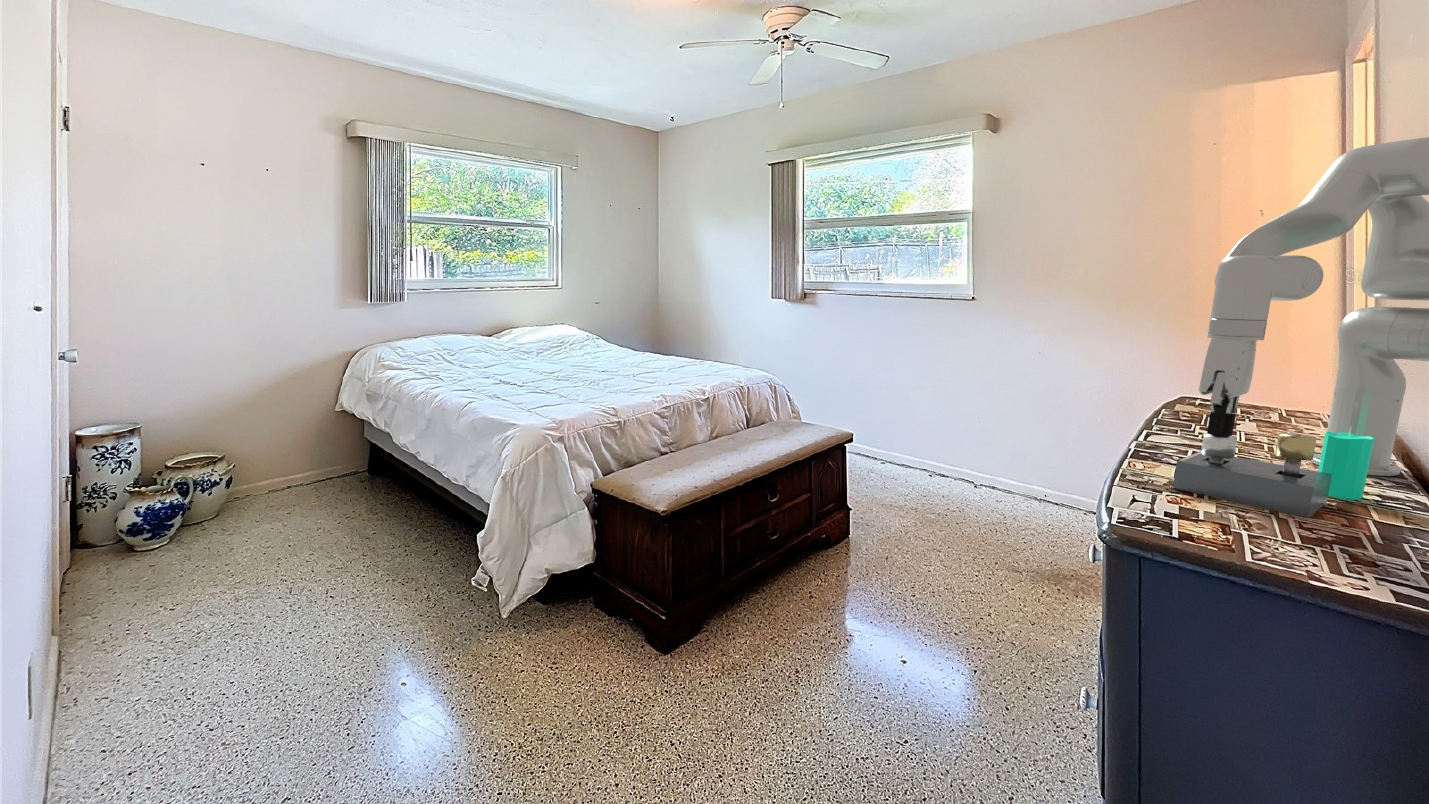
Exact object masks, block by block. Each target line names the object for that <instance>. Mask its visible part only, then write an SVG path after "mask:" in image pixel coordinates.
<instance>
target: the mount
mask: <svg viewBox="0 0 1429 804" xmlns="http://www.w3.org/2000/svg"><path fill="white" fill-rule="evenodd" d="M1209 458H1210V456H1206V455H1203V454H1201V450H1200V451H1197V452H1195V453H1192V454H1191V455H1188V456H1186V457H1183V458H1180V459H1179V460H1176V463H1175V464H1176V465H1175V473H1174V478H1173V485H1172V486H1173V487H1172V489H1175V488H1176V489H1175V490H1179V489H1180V490H1179V491H1184V490H1185V492H1188V491H1190V492H1189V493H1193V492H1194V494H1196V495H1197V494H1198V495H1202V494H1204V495H1203V496H1206V495H1207V497H1211V498H1216V499H1220V500H1225V501H1229V502H1234V503H1239V504H1243V505H1247V506H1252V507H1256V508H1262V509H1265V510H1270V511H1274V512H1279V513H1282V514H1287V515H1292V516H1296V517H1302V518H1304V519H1305V518H1306V519H1309V518H1310V517H1311V516H1312V515H1314V514H1315V513H1316V512H1318V511H1319V510H1320V509H1321V508H1322V507H1324V506H1325V505H1326V504H1327V503H1328V499H1329V496H1328V494H1329V489H1330V484H1331V478H1332V474H1329V473H1324V472H1318V471H1317V470H1311V469H1305V468H1301V467H1300V471H1299V476H1298V478H1296V477H1290V476H1285V475H1282V472H1283V467H1284V464H1278V463H1277V464H1276V463H1272V462H1267V461H1262V460H1261V461H1260V460H1255V459H1250V458H1249V459H1248V458H1245V457H1244V458H1243V457H1239V456H1234V458H1230V459H1225V458H1224V462H1223V464H1221V463H1215V462H1210V461H1209Z"/></svg>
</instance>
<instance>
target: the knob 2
mask: <svg viewBox="0 0 1429 804" xmlns="http://www.w3.org/2000/svg"><path fill="white" fill-rule="evenodd" d="M1276 441H1277V442H1276V446H1275V452H1274V455H1275V456H1277V457H1280V458H1284V462H1283V465H1284V467H1283V472H1282V475H1285V476H1290V477H1296V478H1298V476H1299V471H1300V468H1301V466H1302V465H1301V464H1302V461H1311V460H1313V456H1314V455H1315V449H1316V444H1317V437H1316V436H1313V435H1309V434H1303V433H1298V432H1297V433H1295V432H1279V433H1278V436H1277V440H1276Z"/></svg>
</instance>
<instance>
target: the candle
mask: <svg viewBox="0 0 1429 804" xmlns="http://www.w3.org/2000/svg"><path fill="white" fill-rule="evenodd" d="M1351 428H1352V427H1350V432H1349V433H1333V432H1327V431H1326V432H1325V433H1324V437H1323V442H1322V447H1321V448H1322V449H1321V452H1320V454H1321V458H1320V463H1319V465H1318V472H1324V473H1329V474H1332V478H1331V484H1330V489H1329V494H1328V497H1331V498H1336V499H1341V500H1351V501H1354V500H1355V501H1357V500H1359V501H1360V500H1361V498H1362V499H1363V497H1364V492H1365V487H1366V482H1367V477H1368V475H1367V473H1368V468H1369V463H1370V458H1371V453H1372V448H1373V443H1374V438H1373V437H1370V436H1357V435H1354V434H1351Z"/></svg>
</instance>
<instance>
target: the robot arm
mask: <svg viewBox="0 0 1429 804" xmlns="http://www.w3.org/2000/svg"><path fill="white" fill-rule="evenodd" d="M1423 196H1429V137H1427V136H1426V137H1418V138H1417V137H1416V138H1410V139H1404V140H1398V141H1390V142H1384V143H1378V144H1371V145H1364V146H1361V147H1357V148H1353V149H1351V150H1348V151H1347V152H1344V153H1343V154H1342V155H1340V156H1339V157H1338V158H1337V159H1336V160H1334V161H1333V163H1332V164H1331V165H1330V167H1329V168H1328V169H1327V170H1326V171H1325V173H1324V174H1323V175H1322V176H1321V178H1320V179H1319V180H1318V181H1317V182H1316V184H1315V185H1314V186H1313V187H1312V189H1311V190H1310V191H1309V193H1308V194H1307V195H1306V196H1305V197H1304V198H1303V200H1302V201H1301V202H1300V203H1299V205H1298V206H1296V207H1295V208H1293V209H1290V210H1289V211H1286V212H1284V213H1282V214H1281V215H1279V216H1277V217H1275V218H1273V219H1272V220H1270V221H1268V222H1266V223H1265V224H1262V225H1260V226H1259V227H1257V228H1255V229H1253V230H1252V231H1250V232H1249V233H1248V234H1247V235H1245V236H1244V237H1242V238H1241V239H1240V240H1239V241H1238V242H1237V243H1236V244H1235V245H1234V247H1233V248H1232V249H1231V250H1230V251H1229V253H1227V255H1226V256H1225V257H1224V258H1223V259H1221V261H1220V262H1219V263H1218V268H1217V272H1216V273H1215V276H1214V277H1215V279H1214V287H1215V288H1214V293H1213V300H1212V305H1211V306H1212V307H1211V313H1210V319H1209V326H1208V331H1207V338H1210V341H1209V344H1208V347H1207V351H1206V355H1205V358H1204V362H1203V363H1204V364H1203V368H1202V373H1201V377H1200V378H1201V379H1200V381H1199V388H1198V392H1199V394H1201V395H1203V396H1205V395H1206V396H1207V395H1210V394H1211V398H1210V411H1209V419H1208V423H1207V431H1206V433H1208V434H1210V435H1216V436H1222V437H1229V436H1233V433H1234V428H1235V423H1236V422H1235V421H1236V418H1237V416H1236V415H1237V414H1236V413H1237V409H1238V406H1239V405H1238V404H1239V401H1240V397H1241V396H1242V395H1245V394H1247V393H1248V392H1249V391H1250V388H1251V383H1252V380H1253V373H1254V369H1255V368H1254V367H1255V360H1256V353H1257V342H1258V341H1264V340H1265V336H1266V331H1267V325H1268V319H1269V313H1270V307H1271V301H1273V302H1274V301H1277V302H1278V301H1279V302H1281V301H1283V302H1286V301H1287V302H1290V301H1298V300H1303V299H1306V298H1308V297H1310V296H1313V294H1314V293H1316V291H1318V290H1319V288H1320V287H1321V285H1322V283H1323V280H1324V269H1323V267H1322V265H1321V264H1320V263H1319V262H1318V261H1317V260H1316V259H1314V258H1312V257H1309V256H1306V255H1285V254H1288V253H1291V252H1293V251H1294V252H1295V251H1297V250H1300V249H1304V248H1308V247H1312V246H1315V245H1319V244H1322V243H1326V242H1328V241H1330V240H1333V239H1337V238H1339V237H1341V236H1344V235H1345V234H1347V233H1348V232H1350V231H1351V230H1352V229H1353V228H1354V227H1355V226H1356V224H1357V223H1359V221H1360V219H1361V218H1362V217H1363V215H1364V214H1365V213H1366V212H1367V211H1368V212H1369V215H1370V219H1371V225H1372V226H1371V234H1370V238H1369V243H1368V247H1367V252H1366V256H1365V260H1364V265H1363V269H1362V270H1363V271H1362V275H1361V282H1360V283H1361V284H1360V285H1361V286H1360V287H1361V290H1362V293H1364V294H1365V296H1367V297H1370V298H1373V299H1378V300H1379V299H1380V300H1390V301H1393V300H1394V301H1399V300H1400V301H1429V201H1428V200H1427V199H1426V198H1425V197H1423ZM1337 335H1338V337H1337V339H1338V352H1339V353H1338V354H1339V355H1338V356H1339V357H1338V358H1339V359H1338V367H1337V368H1338V369H1337V373H1336V374H1337V375H1336V381H1335V387H1334V393H1333V397H1332V402H1331V408H1330V414H1329V418H1328V423H1327V429H1326V432H1333V433H1349V432H1350V427H1352V428H1351V434H1354V435H1357V436H1370V437H1373V438H1374V443H1373V448H1372V453H1371V458H1370V463H1369V468H1368V473H1367V476H1374V477H1375V476H1377V477H1394V476H1398V475H1400V474H1401V467H1400V466H1398V465H1396V464H1393V463H1391V459H1392V455H1393V449H1394V446H1395V441H1396V435H1397V430H1398V427H1399V421H1400V416H1401V412H1402V411H1401V410H1402V407H1403V402H1404V397H1405V394H1406V388H1407V379H1406V376H1405V374H1404V372H1403V370H1402V369H1401V368H1400V366H1399V365H1398V363H1397V362H1396V360H1407V361H1416V362H1417V361H1419V362H1429V307H1428V308H1427V307H1409V306H1408V307H1407V306H1405V307H1404V306H1403V307H1402V306H1370V307H1362V308H1359V309H1355V310H1353V311H1351V312H1349V313H1348V314H1346V315H1345V316H1344V317H1343V319H1342V320H1341V322H1340V323H1339V326H1338V334H1337ZM1320 458H1321V453H1314V456H1313V460H1310V462H1311V463H1313V464H1314V465H1317V466H1319V463H1320Z"/></svg>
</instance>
